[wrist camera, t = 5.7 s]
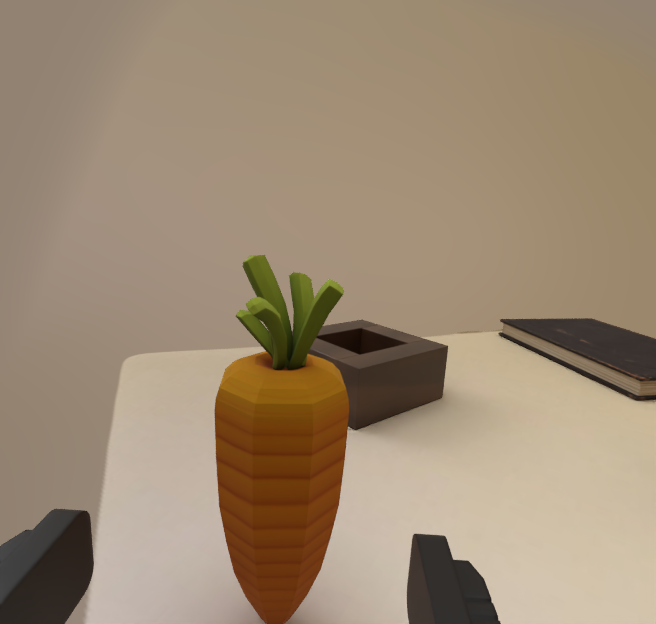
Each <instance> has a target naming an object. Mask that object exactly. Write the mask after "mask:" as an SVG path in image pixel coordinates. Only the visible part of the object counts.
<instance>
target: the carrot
mask: <svg viewBox="0 0 656 624" xmlns="http://www.w3.org/2000/svg"><path fill="white" fill-rule="evenodd" d="M243 268H244V270H245V272H246V274H247V277H248V279H249V281H250V283H251V285H252V287H253V289H254V291H255V293H256V295H257V297H256V298H254V299H251V300H250V301H249V302H248V303H246V306H247V308H248V310H249V311H245V310H240V311H239V312H238V313H237V315H236V317H237V318H238V319H239V320H240V322H241V323H242V324H243V325H244V326H245V327H246V329H247V330H248V331H249V332H250V333H251V334H252V335H253V336H254V338H255V339H256V340H257V341H258V342H259V343H260V344H261V346H262V347H263V348H264V349H265V350H266V351H265V352H261V353H258V354H254V355H251V356H247V357H244V358H241V359H239V360H236V361H234V362H233V363H232V364H231V365H229V366H228V367H227V368H226V369H225V372H224V375H223V378H222V381H221V384H220V387H219V390H218V394H217V397H216V403H215V433H216V462H217V477H218V493H219V507H220V512H221V517H222V522H223V527H224V532H225V537H226V542H227V546H228V550H229V554H230V558H231V562H232V566H233V570H234V573H235V575H236V577H237V579H238V581H239V583H240V586H241V588H242V590H243V592H244V594H245V596H246V598H247V599H248V601H249V602H250V603H251V605H252V606H253V608H254V609H255V610H256V612H257V613H258V615H259V616H260V617H261V619H262V620H263V621H264V622H266V623H267V624H284V623H285V622H286V621H287V620H288V619H290V617H291V616H292V615H293V613H294V612H295V611H296V609H297V608H298V607H299V605H300V604H301V602H302V601H303V600H304V598H305V597H306V596H307V594H308V592H309V590H310V588H311V586H312V585H313V583H314V581H315V579H316V577H317V575H318V573H319V571H320V569H321V566H322V563H323V560H324V556H325V553H326V550H327V547H328V543H329V540H330V537H331V533H332V529H333V525H334V521H335V517H336V513H337V509H338V506H339V499H340V491H341V483H342V475H343V468H344V460H345V450H346V439H347V429H348V418H349V399H348V394H347V390H346V387H345V384H344V381H343V378H342V375H341V373H340V370H339V369H338V368H337V367H336V366H335V365H334V364H333V363H331V362H329V361H327V360H325V359H322V358H319V357H316V356H313V355H310V354H308V352H309V350H310V348H311V346H312V344H313V342H314V341H315V339H316V337H317V335H318V333H319V331H320V329H321V328H322V325H323V324H324V322H325V320H326V318H327V317H328V314H329V313H330V312H331V310H332V309H333V308H334V306H335V305H336V304H337V302H338V301H339V299H340V298H341V296H342V295H343V293H344V290H343V288H342V287H341V286H340V285H339V284H338V283H337V282H335V281H333V280H331V279H329V280H328V281H327V282H326V283H325V284H324V285H323V286H322V287H321V289H320V290H319V292H318V293H317V295H316V296H315V298H314V296H313V288H312V283H311V279H310V278H309V277H308V276H307V275H305V274H302V273H292V274H291V275H290V285H291V294H292V301H293V308H294V324H293V336H292V331H291V325H290V320H289V316H288V312H287V308H286V304H285V301H284V299H283V296H282V293H281V291H280V288H279V286H278V283H277V281H276V278H275V276H274V274H273V272H272V270H271V268H270V266H269V263H268V261H267V259H266V257H265V255H259V256H254V255H251V256H250V257H249V258H248V259H246V260H245V261H244V262H243ZM260 320H261V321H263V322H264V324H265V325H266V327H267V329H268V330H267V329H266V328H265V326H264V325H263V324H262V323H261V322H260Z"/></svg>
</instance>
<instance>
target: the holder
mask: <svg viewBox="0 0 656 624" xmlns="http://www.w3.org/2000/svg"><path fill="white" fill-rule="evenodd" d="M292 336H293V331H292ZM447 352H448V346H446V345H443V344H440V343H436V342H433V341H430V340H427V339H423V338H420V337H417V336H413V335H410V334H407V333H403V332H400V331H397V330H394V329H390V328H387V327H384V326H381V325H377V324H374V323H371V322H368V321H364V320H357V321H352V322H346V323H339V324H333V325H327V326H322V328H321V329H320V331H319V333H318V335H317V337H316V339H315V341H314V342H313V344H312V346H311V348H310V350H309V352H308V354H310V355H313V356H316V357H319V358H322V359H325V360H327V361H329V362H331V363H333V364H334V365H335V366H336V367H337V368H338V369H339V370H340V373H341V375H342V378H343V381H344V384H345V387H346V390H347V394H348V399H349V418H348V426H350V427H351V428H353V429H355V430H356V429H358V428H361V427H364V426H367V425H369V424H372V423H375V422H377V421H380V420H383V419H385V418H388V417H391V416H393V415H396V414H399V413H401V412H404V411H407V410H410V409H412V408H415V407H418V406H420V405H423V404H426V403H428V402H431V401H434V400H436V399H439V398H442V396H443V387H444V378H445V369H446V361H447Z"/></svg>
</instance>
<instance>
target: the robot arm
mask: <svg viewBox="0 0 656 624" xmlns="http://www.w3.org/2000/svg"><path fill="white" fill-rule="evenodd" d="M93 566H94V561H93V548H92V534H91V522H90V515H89V513H88V512H87V511H81V510H65V509H54V510H52V511H51V512H49V514H47V516H46V517H45V518H44V519H43V520H42V521H41V522H40V523H39V524H38V525H37V526H36V527H35V528H34V529H33V530H25V531H23V532H22V533H20V534H19V535H17V536H15V537H14V538H12V539H10V540H9V541H7V542H6V543H4V544H2V545H1V546H0V624H65V622H66V621H67V619H68V618H69V616H70V615H71V613H72V612H73V610H74V609H75V607H76V606H77V604H78V603H79V601H80V600H81V598H82V597H83V595H84V594H85V592H86V590H87V588H88V586H89V583H90V581H91V577H92V573H93ZM407 610H408V619H409V624H501V623H500V621H498V615H497V613H496V610H495V607H494V605H493V603H492V602H491V597H490V594H489V591H488V589H487V586H486V583H485V581H484V579H483V577H482V576H481V575H480V574H479V573H478V572H477V570H476V569H475V568H474V567H473V566H472V565H471V563H470V562H469V561H462V560H453V558H452V555H451V552H450V548H449V545H448V542H447V539H446V537H445V536H440V535H425V534H414V535H413V539H412V547H411V557H410V566H409V575H408V585H407Z"/></svg>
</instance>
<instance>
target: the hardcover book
mask: <svg viewBox="0 0 656 624" xmlns="http://www.w3.org/2000/svg"><path fill="white" fill-rule="evenodd" d="M500 321H501V322H503V323H504V326H503V332H502V333H499V335H501V336H503V337H505V338H507V339H509V340H511V341H513V342H515V343H517V344H519V345H522V346H524V347H526V348H528V349H530V350H532V351H534V352H536V353H538V354H540V355H543V356H545V357H547V358H549V359H551V360H553V361H555V362H557V363H559V364H561V365H563V366H566V367H568V368H570V369H572V370H574V371H576V372H578V373H580V374H582V375H584V376H587V377H589V378H591V379H593V380H595V381H597V382H599V383H601V384H603V385H605V386H607V387H610V388H612V389H614V390H616V391H618V392H620V393H622V394H624V395H626V396H628V397H631V398H633V399H635V400H649V399H656V339H654V338H651V337H648V336H645V335H642V334H639V333H635V332H632V331H629V330H626V329H623V328H620V327H617V326H613V325H610V324H607V323H604V322H601V321H598V320H595V319H501V320H500Z"/></svg>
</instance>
